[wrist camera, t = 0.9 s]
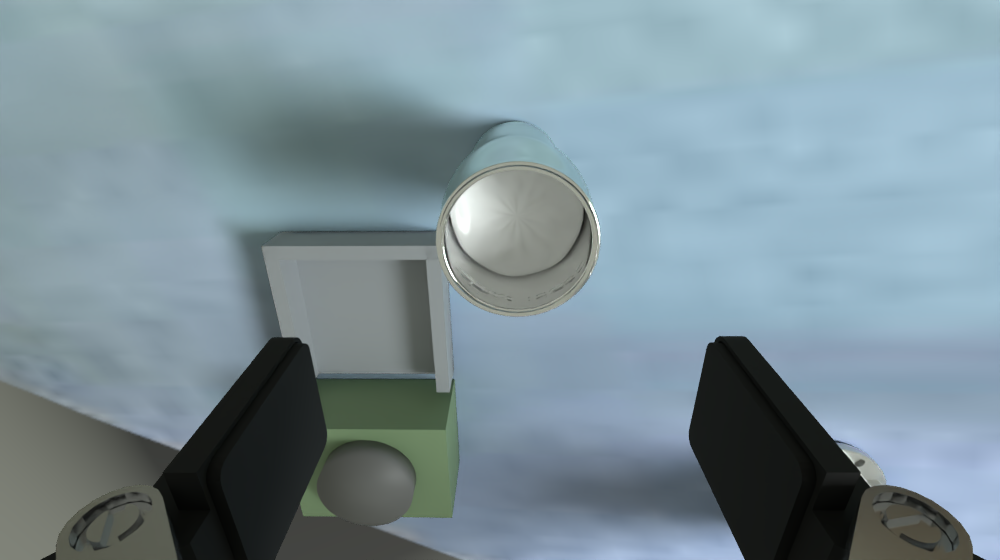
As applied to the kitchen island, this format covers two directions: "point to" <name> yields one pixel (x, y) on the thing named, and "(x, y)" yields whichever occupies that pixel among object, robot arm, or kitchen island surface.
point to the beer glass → (517, 224)
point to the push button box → (373, 368)
